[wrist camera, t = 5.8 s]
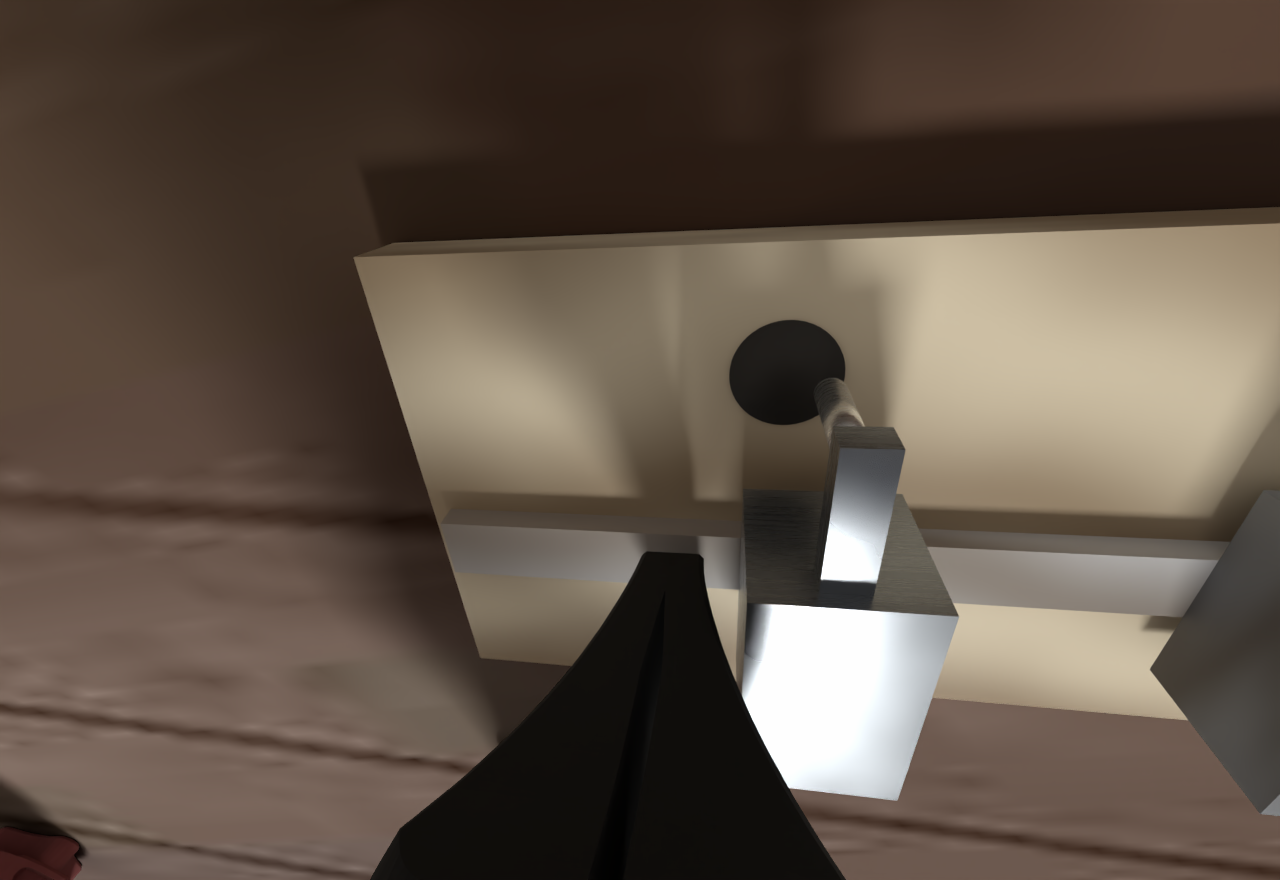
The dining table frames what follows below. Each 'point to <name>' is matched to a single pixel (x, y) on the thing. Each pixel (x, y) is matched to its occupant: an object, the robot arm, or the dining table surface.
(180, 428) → the dining table surface
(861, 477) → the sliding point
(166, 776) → the dining table surface
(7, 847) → the mechanical component
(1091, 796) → the dining table surface
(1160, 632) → the hole board
